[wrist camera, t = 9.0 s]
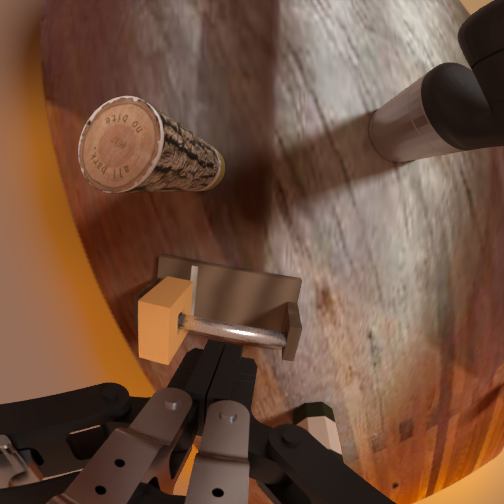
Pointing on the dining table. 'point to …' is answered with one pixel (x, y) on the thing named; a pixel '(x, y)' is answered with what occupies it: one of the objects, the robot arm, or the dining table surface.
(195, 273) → the pipe stand
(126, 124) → the bark log section
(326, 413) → the wine bottle
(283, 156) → the dining table surface
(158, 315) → the collar
